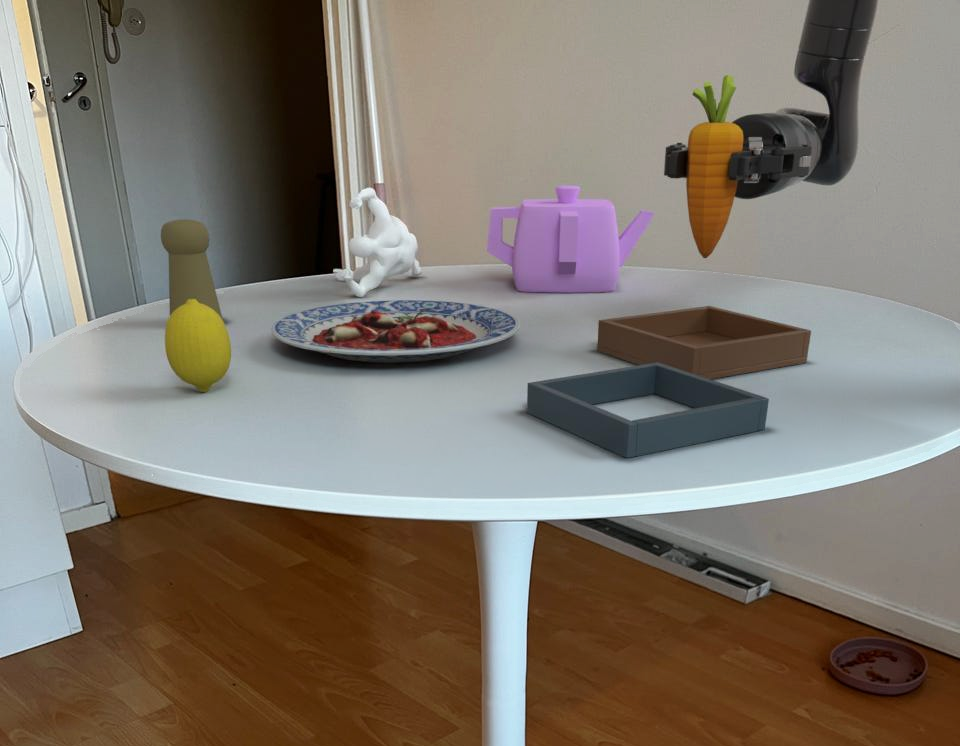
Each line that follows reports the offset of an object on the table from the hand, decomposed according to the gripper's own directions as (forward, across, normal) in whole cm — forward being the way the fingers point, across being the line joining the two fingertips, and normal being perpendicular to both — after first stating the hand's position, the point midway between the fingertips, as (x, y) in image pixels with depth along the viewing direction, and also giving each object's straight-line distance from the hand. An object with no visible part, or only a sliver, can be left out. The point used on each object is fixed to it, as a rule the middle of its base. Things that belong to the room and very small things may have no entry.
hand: (703, 166), depth 89 cm
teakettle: (-35, -31, +18) cm, 50 cm away
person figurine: (-20, -50, +17) cm, 57 cm away
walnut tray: (-4, 0, +18) cm, 18 cm away
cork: (+9, -56, +17) cm, 59 cm away
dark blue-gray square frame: (+19, +4, +18) cm, 26 cm away
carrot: (-3, 0, +8) cm, 9 cm away
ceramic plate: (+7, -30, +18) cm, 35 cm away
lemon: (+31, -33, +17) cm, 49 cm away
